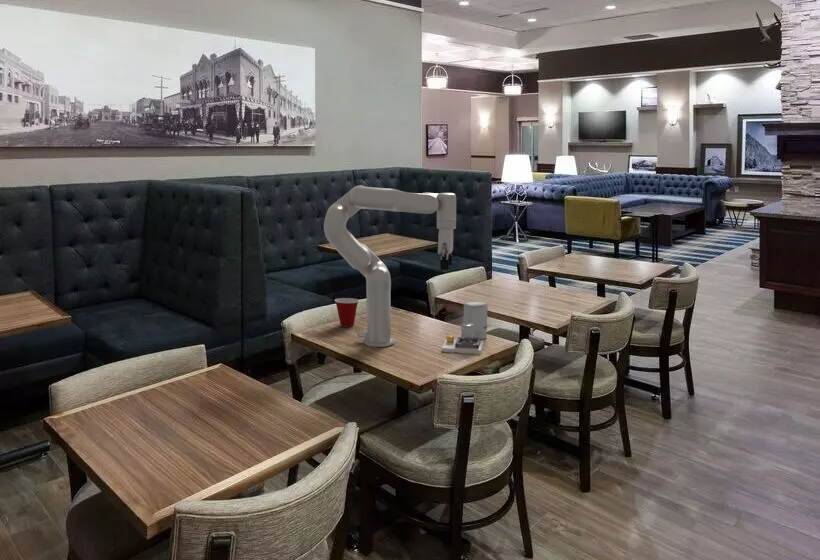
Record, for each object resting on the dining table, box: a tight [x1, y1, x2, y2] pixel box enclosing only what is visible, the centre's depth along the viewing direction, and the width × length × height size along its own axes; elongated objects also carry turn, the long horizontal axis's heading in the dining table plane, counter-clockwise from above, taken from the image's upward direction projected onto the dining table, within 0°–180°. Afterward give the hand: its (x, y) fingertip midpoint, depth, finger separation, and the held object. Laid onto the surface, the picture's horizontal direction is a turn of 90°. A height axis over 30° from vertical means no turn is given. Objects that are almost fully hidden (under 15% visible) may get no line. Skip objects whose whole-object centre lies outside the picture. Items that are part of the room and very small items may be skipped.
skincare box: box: [463, 301, 488, 340], centre depth 258 cm, size 8×6×15 cm
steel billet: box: [460, 322, 474, 344], centre depth 245 cm, size 5×5×8 cm
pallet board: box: [441, 336, 484, 355], centre depth 247 cm, size 15×12×3 cm
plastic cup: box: [334, 297, 360, 327], centre depth 278 cm, size 11×11×12 cm
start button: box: [445, 334, 455, 343], centre depth 249 cm, size 3×3×2 cm
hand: (446, 267), depth 251 cm, fingers open, 9 cm apart
